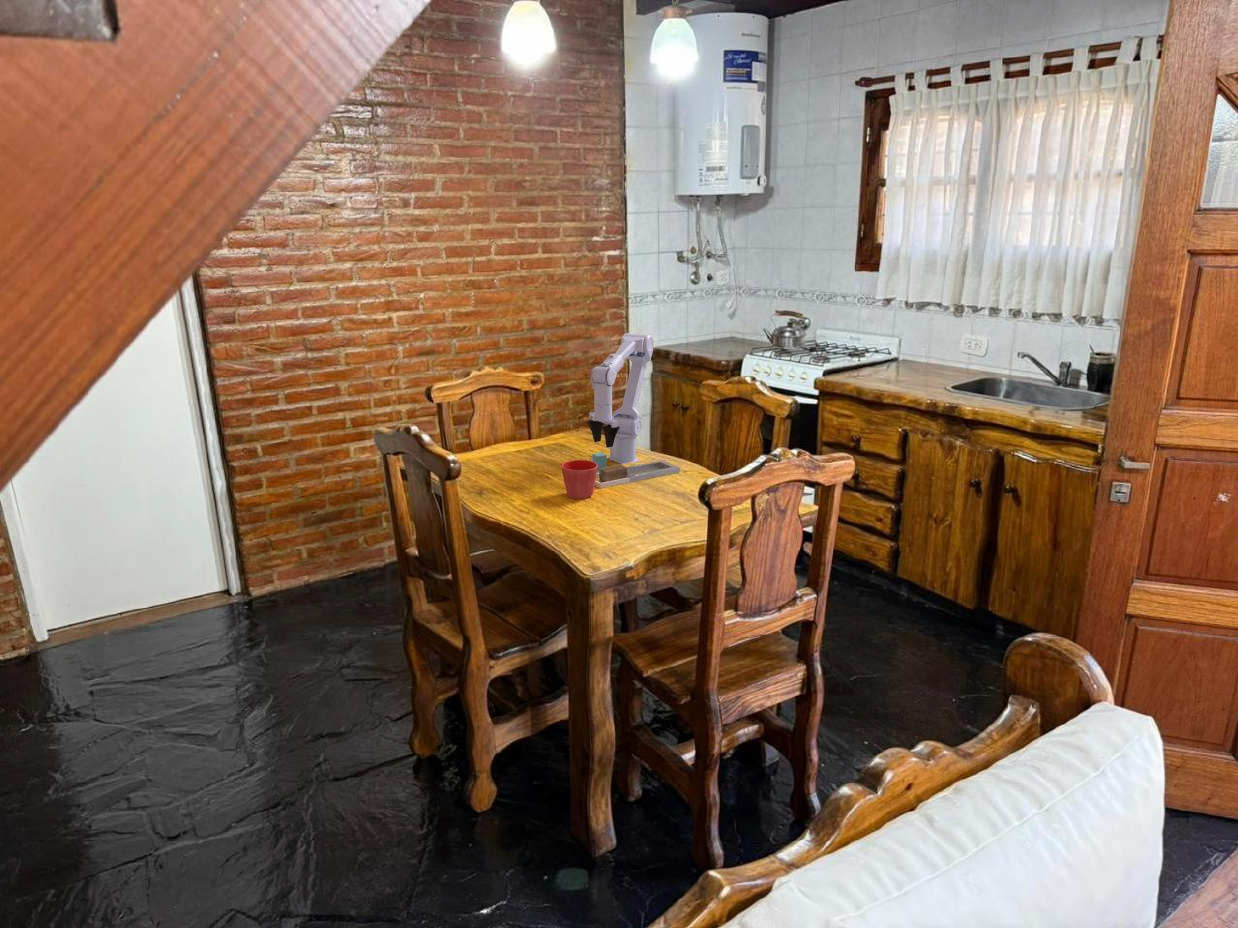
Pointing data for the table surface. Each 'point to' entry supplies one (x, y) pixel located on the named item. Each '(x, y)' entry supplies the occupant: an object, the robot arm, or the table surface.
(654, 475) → the slot block
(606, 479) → the brown boxy piece
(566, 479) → the flower pot
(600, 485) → the tray
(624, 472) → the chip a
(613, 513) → the table surface
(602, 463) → the teal block
